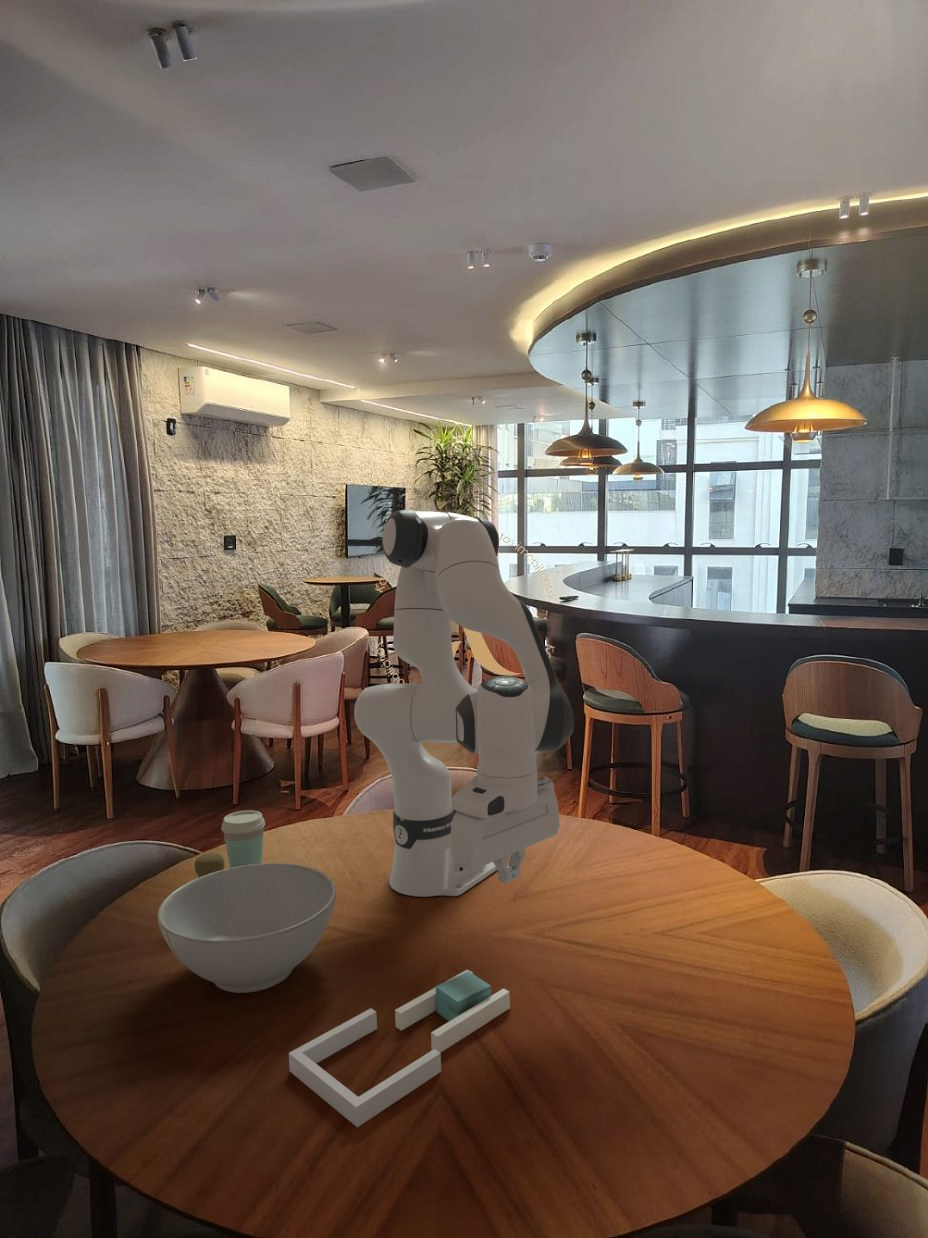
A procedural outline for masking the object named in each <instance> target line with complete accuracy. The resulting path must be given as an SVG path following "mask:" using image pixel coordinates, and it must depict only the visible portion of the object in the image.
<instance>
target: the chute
mask: <svg viewBox="0 0 928 1238" xmlns="http://www.w3.org/2000/svg"><path fill="white" fill-rule="evenodd" d="M468 971H469V972H470V973H472V974H474V972H473V971H472V970H470V969H465V970H464V971H462V972H459V973H458V974H456V975H455V976H453V977H451V978H449V979H447V981H449V980H451V979H453V978H455V977H457V976H460V975H462V974H464V973H466V972H468ZM509 1009H511V995H510V991H509V990H507V989H506V988H502V989H500V990H499V991H497V992H496V993H494V994H491V996H490V997H489V998H487V999H485V1000H484V1001H482V1002H480V1003H479V1004H477V1005H475V1006H474V1007H472V1008H471V1009H469V1010H467V1011H466V1012H464V1013H462V1014H461V1015H459V1016H457V1017H456V1018H454V1019H453V1020H451V1021H448V1022H446V1023H444V1024H443V1025H441V1026H439V1027H437V1028H436V1029H435V1030H433V1031H431V1032H430V1039H431V1042H430V1043H431V1051H432V1050H433V1049H435V1050H436V1051H438V1052H439V1053H442V1052H444V1051H445V1050H447V1049H449V1048H450V1047H451V1046H453V1045H455V1044H456V1043H458V1042H460V1041H461V1040H463V1039H465V1038H466V1037H467V1036H469V1035H471V1034H472V1033H474V1032H475V1031H477V1030H479V1029H480V1028H481V1027H483V1026H485V1025H486V1024H488V1023H489V1022H491V1021H492V1020H493V1019H495V1018H496V1017H498V1016H501V1015H502V1014H503V1013H505V1012H506V1011H508V1010H509ZM434 1012H437V1011H436V986H434V987H433V988H432V989H430V990H428V991H426V992H425V993H423V994H421V995H419V996H418V997H416V998H413V999H412V1000H410V1001H408V1002H407V1003H405V1004H403V1005H402V1006H399V1007H398V1008H395V1009H394V1014H395V1015H394V1019H395V1028H396V1029H398V1030H400V1032H401V1031H403V1030H405V1029H407V1028H408V1027H410V1026H412V1025H413V1024H415V1023H417V1022H418V1021H420V1020H422V1019H424V1018H425V1017H427V1016H429V1015H430V1014H433V1013H434Z"/></svg>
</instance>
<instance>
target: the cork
mask: <svg viewBox="0 0 928 1238" xmlns="http://www.w3.org/2000/svg"><path fill="white" fill-rule="evenodd" d="M225 864H226V863H225V858H224V856H223V855H222V854H221V853H218V852H208V853H204V854H201V855H199V856H198V857H197V858H196V859H195V862H194V871H195V873H196V875H197V876H198V877H197V878H199V877H202V876H205V875H207V874H210V873H213V872H217V871H220V870H224V869H225Z"/></svg>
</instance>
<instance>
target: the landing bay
mask: <svg viewBox="0 0 928 1238" xmlns="http://www.w3.org/2000/svg"><path fill="white" fill-rule="evenodd" d="M377 1019H378V1018H377V1011H376V1010H374V1009H373V1008H372V1007H371V1008H370V1007H369V1009H367V1010H364V1011H363V1012H361V1013H359V1014H357V1015H356V1016H354V1017H352V1018H350V1019H349V1020H347V1021H345V1022H343V1023H341V1024H340V1025H337V1026H335V1027H334V1028H332V1029H330V1030H329V1031H328V1030H327V1032H325V1033H323V1034H321V1035H319V1036H317V1037H316V1038H313V1039H312V1040H310V1041H308V1042H306V1043H305V1044H303V1045H301V1046H299V1047H297V1048H295V1049H294V1050H292V1051H290V1052H288V1063H289V1066H288V1068H289V1072H290V1073H291V1074H292V1075H294V1076H295V1078H297V1079H298V1080H299V1081H301V1082H302V1083H303V1084H304V1085H306V1086H307V1087H308V1088H309V1089H310V1090H312V1091H313V1092H314V1093H315V1094H316V1095H318V1096H319V1097H320V1098H321V1099H322V1100H324V1101H325V1102H326V1103H327V1104H329V1105H330V1106H331V1107H332V1108H333V1109H335V1110H336V1111H337V1112H338V1113H339V1114H341V1116H343V1118H345V1119H347V1120H348V1121H349V1122H351V1124H353V1125H354V1126H355V1128H359V1127H360V1126H362V1125H363V1124H365V1123H366V1122H368V1121H369V1120H371V1119H373V1118H374V1117H375V1116H377V1115H378V1114H379V1113H382V1112H383V1111H384V1110H385V1109H387V1108H388V1107H390V1106H391V1105H393V1104H395V1103H396V1102H398V1101H399V1100H401V1099H402V1098H403V1097H405V1096H407V1095H408V1094H410V1093H411V1092H413V1091H414V1090H416V1089H418V1088H419V1087H420V1086H422V1085H423V1084H425V1083H426V1082H428V1081H429V1080H431V1079H432V1078H434V1077H435V1076H437V1075H438V1074H441V1072H442V1062H441V1061H442V1058H441V1053H442V1052H441V1053H439V1052H438V1051H436V1050H435V1049H433V1050H432V1049H431V1051H429V1052H427V1053H426V1054H424V1055H422V1056H420V1057H419V1058H418V1059H416V1060H414V1061H413V1062H412V1063H410V1064H408V1065H406V1066H405V1067H404V1068H402V1069H400V1070H399V1071H397V1072H395V1073H394V1074H392V1075H391V1076H389V1077H388V1078H386V1079H384V1080H382V1081H381V1082H380V1083H378V1084H377V1085H375V1086H374V1087H372V1088H370V1089H368V1090H367V1091H366V1092H363V1093H362V1094H360V1095H359V1096H358V1095H357V1094H356V1093H354V1092H352V1091H351V1090H350V1089H349V1088H347V1086H345V1085H344V1084H342V1083H341V1082H340V1081H338V1080H337V1079H336V1078H335V1077H333V1075H331V1074H330V1073H328V1071H326V1070H325V1069H323V1068H322V1067H321V1066H319V1065H318V1063H320V1062H321V1061H323V1060H325V1059H327V1058H329V1057H330V1056H332V1055H334V1054H335V1053H337V1052H339V1051H341V1050H342V1049H344V1048H346V1047H348V1046H349V1045H352V1044H353V1043H354V1042H355V1043H356V1041H358V1040H360V1039H361V1038H364V1037H365V1036H367V1035H369V1034H370V1033H372V1032H374V1031H376V1030H377V1029H378V1021H377Z"/></svg>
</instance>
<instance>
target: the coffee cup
mask: <svg viewBox="0 0 928 1238" xmlns="http://www.w3.org/2000/svg"><path fill="white" fill-rule="evenodd" d="M265 825H266V822H265V818H264V817H263V814H262V813H261V812H260V811H257V810H252V809H251V810H239V811H238V810H237V811H234V812H232V813H229V814H227V815H225V816H224V817H223V821H222V823H221V828H220V829H221V831H222V833H223V838H224V843H225V847H226V853H227V858H228V863H229V868H233V867H238V866H244V865H251V864H262V863H263V862H262V861H263V846H264V845H263V844H264V831H265V829H264V827H265Z"/></svg>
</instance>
